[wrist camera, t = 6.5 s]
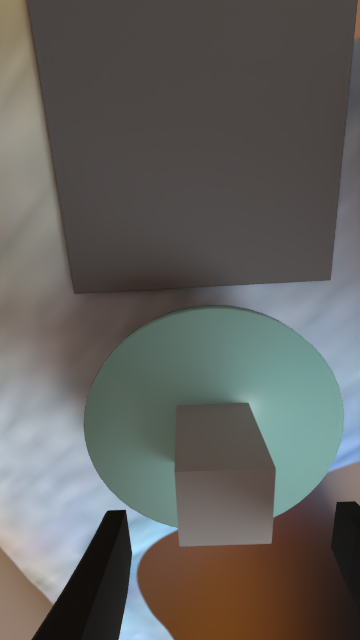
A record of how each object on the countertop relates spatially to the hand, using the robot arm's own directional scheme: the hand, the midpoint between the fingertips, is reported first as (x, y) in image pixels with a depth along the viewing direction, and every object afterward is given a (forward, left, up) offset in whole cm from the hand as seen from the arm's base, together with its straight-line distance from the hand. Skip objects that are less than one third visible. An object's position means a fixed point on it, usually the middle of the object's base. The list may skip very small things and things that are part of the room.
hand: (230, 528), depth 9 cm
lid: (0, 0, -5) cm, 5 cm away
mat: (0, -14, -10) cm, 18 cm away
